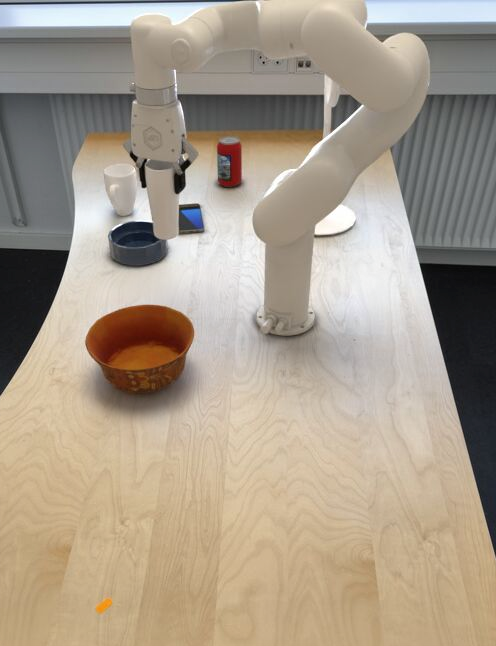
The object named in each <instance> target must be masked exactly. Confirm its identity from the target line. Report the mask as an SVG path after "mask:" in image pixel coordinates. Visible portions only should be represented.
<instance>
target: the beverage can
mask: <svg viewBox="0 0 496 646" xmlns="http://www.w3.org/2000/svg"><path fill="white" fill-rule="evenodd" d="M242 147H243V146H242V143H241V141H240V139H239V137H238V136H235V135H225V136H222V137H220V138H219V140H218V142H217V145H216V165H217V182H218V183H219V184H220V185H221V186H223V187H227V188H232V187H235V186H236V187H237V186H238V185H239V184H240V183H241V182H242V181H243V179H242V178H243V176H242V173H243V171H242V170H243V168H242V167H243V164H242V163H243V161H242V160H243V157H242V156H243V155H242V154H243V153H242Z"/></svg>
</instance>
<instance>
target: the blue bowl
mask: <svg viewBox="0 0 496 646" xmlns="http://www.w3.org/2000/svg"><path fill="white" fill-rule="evenodd" d="M107 239H108V247H109V253H110V257H111V258H112V259H113V260H114V261H115V262H116V263H117V262H118V263H119V264H121V265H122V264H123V265H127V266H145V265H148V264H152V263H155V262H158V261H160V260H161V259H163V258H164V257H165V256H166V255H167V254H168V250H169V244H168V240H162V239H158V238H157V237H155V235H154V232H153V223H152V220H146V219H145V220H144V219H143V220H142V219H139V220H138V219H137V220H129V221H125V222H123V223H119V224H118V225H116V226H114V227H112V228H111V229H110V231H109V233H108V234H107Z"/></svg>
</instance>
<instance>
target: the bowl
mask: <svg viewBox="0 0 496 646" xmlns="http://www.w3.org/2000/svg"><path fill="white" fill-rule="evenodd" d="M194 338H195V328H194V325H193V322H192V321H191V320H190V318H189V317H188V316H187V315H186V314H184V313H183V312H182V311H179V310H177V309H174V308H172V307H169V306H166V305H160V304H138V305H131V306H126V307H123V308H119V309H117V310H115V311H112V312H109V313H107V314H105V315H103V316H101V317H100V318H99V319H97V320H96V321H95V322H94V323H93V324H92V326H90V328H89V329H88V332H87V334H86V336H85V340H84V342H85V349H86V350H87V353H88V354H89V356H90V357H91V358H92V359H93V360H94V361H95V362H96V364H97V365H99V367H100V369H101V371H102V374H103V376H104V378H105V380H106V381H107V382H108V383H109V384H110V385H111V386H113V387H114V388H116V389H118V390H120V391H122V392H125V393H131V394H132V393H133V394H146V393H152V392H153V393H154V392H157V391H160V390H163V389H164V388H167V387H169V386H170V385H172V384H173V383H174V382H176V380H178V379H179V377H181V375H182V374H183V371H184V370H185V365H186V360H187V354H188V352H189V350H190V348H191V346H192V344H193V341H194Z"/></svg>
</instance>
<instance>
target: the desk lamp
mask: <svg viewBox="0 0 496 646" xmlns="http://www.w3.org/2000/svg"><path fill="white" fill-rule="evenodd" d="M323 79H324V85H323V86H324V87H323V89H324V91H323V93H324V94H323V132H322V140H323V139H325V138H326V137H327V136H328V135H330V134H331V128H332V108H335V107H336V106H337V104H338V102H339V99H340V95H341V89H342V88H341V87H340V86H339V85H337V84H336V83H335V82H334V81H333V80H331V79H330V78H329V77H328V76H327V75H325V74H324V78H323ZM356 221H357V217H356V214H355V212H354V211H353V210H352V209H351V208H349V207H348V206H346V205H343V204H340V205H339V206H338V207H337V208H336V209H335V210H334V211H333V212H331V213H330V214H329V215H328V216H326V217H325V218H324V219H323V220H321V221H320V222H319V223H317V224H316V226H315V234H314V236H331V235H336V234H340V233H343V232H346V231H348V230H349V229H351V228H352V227H354V225H355V223H356Z"/></svg>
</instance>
